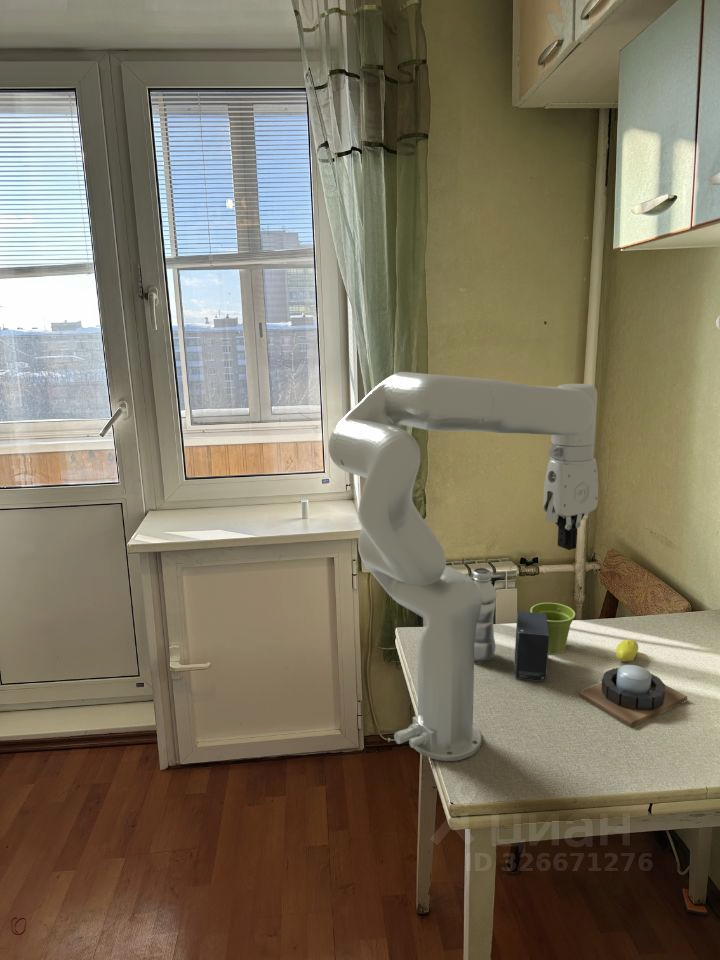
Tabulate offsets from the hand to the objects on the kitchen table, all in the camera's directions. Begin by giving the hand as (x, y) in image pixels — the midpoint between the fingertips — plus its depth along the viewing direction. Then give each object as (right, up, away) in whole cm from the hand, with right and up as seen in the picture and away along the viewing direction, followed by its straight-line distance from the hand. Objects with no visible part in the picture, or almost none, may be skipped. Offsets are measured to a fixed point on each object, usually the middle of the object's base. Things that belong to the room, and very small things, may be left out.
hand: (566, 547), depth 129 cm
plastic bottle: (-13, -26, +18) cm, 34 cm away
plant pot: (+3, -25, +22) cm, 33 cm away
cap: (+13, -28, +1) cm, 31 cm away
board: (+13, -29, +2) cm, 32 cm away
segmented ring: (+13, -29, +2) cm, 32 cm away
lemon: (+18, -26, +17) cm, 36 cm away
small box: (-3, -27, +14) cm, 30 cm away
